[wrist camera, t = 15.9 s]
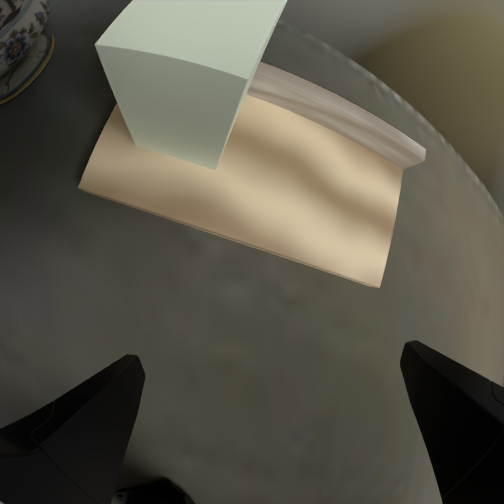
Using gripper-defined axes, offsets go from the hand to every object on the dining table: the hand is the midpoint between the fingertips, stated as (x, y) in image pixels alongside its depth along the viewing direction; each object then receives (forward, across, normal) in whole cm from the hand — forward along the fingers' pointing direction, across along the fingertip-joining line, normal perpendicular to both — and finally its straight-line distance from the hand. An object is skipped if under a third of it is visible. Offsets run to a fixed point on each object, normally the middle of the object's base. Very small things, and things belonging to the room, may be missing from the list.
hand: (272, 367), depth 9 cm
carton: (+14, +5, -9) cm, 17 cm away
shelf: (+15, 0, -5) cm, 16 cm away
